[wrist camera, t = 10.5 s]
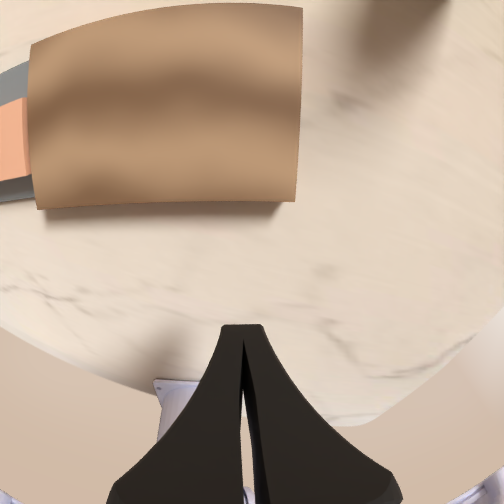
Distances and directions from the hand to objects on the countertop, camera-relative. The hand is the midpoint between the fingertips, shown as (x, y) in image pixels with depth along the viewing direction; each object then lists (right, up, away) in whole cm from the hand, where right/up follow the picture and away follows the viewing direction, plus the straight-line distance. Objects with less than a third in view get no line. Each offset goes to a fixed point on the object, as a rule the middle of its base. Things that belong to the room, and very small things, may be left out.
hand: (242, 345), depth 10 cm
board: (-5, +12, +4) cm, 14 cm away
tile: (-17, +11, +3) cm, 21 cm away
